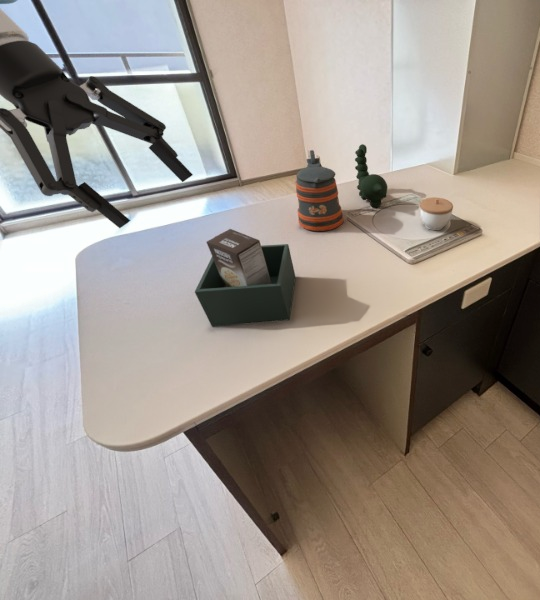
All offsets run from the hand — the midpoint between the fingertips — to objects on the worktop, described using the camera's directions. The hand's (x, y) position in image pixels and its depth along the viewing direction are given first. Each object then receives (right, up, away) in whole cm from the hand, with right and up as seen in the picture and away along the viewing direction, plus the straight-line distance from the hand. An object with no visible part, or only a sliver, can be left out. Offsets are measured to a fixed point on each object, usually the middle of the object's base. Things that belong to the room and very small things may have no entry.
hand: (159, 199), depth 52 cm
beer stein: (+12, +12, +59) cm, 61 cm away
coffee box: (+4, -16, +25) cm, 30 cm away
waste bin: (+4, -16, +26) cm, 31 cm away
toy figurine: (+28, +22, +72) cm, 80 cm away
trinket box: (+51, +9, +58) cm, 77 cm away
